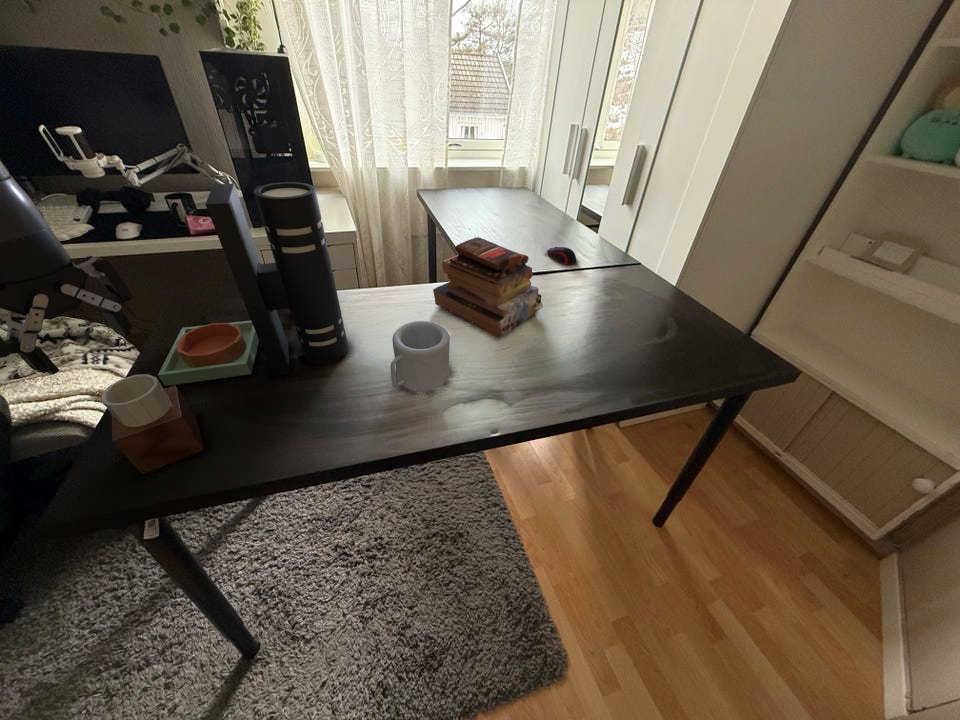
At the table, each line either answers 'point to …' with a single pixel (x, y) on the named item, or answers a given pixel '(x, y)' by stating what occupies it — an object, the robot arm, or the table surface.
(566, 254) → the computer mouse
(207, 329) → the big bowl
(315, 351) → the light fixture
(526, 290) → the stack of old books
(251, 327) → the tray
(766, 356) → the table surface
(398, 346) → the mug
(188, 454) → the block
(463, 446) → the table surface
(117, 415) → the small bowl
